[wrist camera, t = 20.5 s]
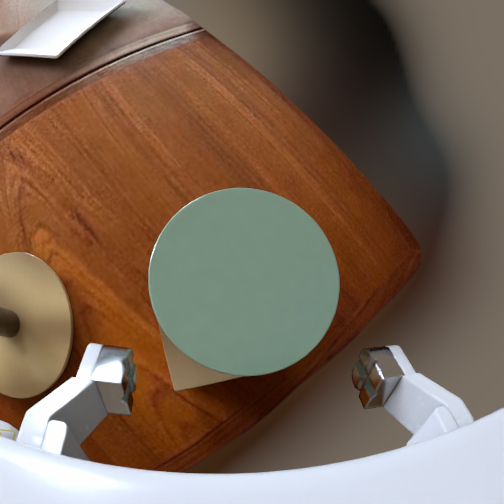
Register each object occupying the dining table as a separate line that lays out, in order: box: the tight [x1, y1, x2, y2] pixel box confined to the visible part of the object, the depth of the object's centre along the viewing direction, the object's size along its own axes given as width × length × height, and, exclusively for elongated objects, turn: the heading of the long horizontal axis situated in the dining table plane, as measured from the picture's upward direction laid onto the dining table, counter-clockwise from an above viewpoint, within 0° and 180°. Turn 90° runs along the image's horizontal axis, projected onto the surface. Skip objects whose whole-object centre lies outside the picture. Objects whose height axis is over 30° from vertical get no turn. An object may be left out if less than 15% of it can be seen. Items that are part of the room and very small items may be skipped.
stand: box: [148, 269, 243, 391], centre depth 23 cm, size 8×8×8 cm
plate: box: [0, 0, 126, 59], centre depth 35 cm, size 19×19×2 cm
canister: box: [148, 188, 339, 376], centre depth 14 cm, size 6×6×11 cm
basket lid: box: [0, 252, 74, 398], centre depth 21 cm, size 14×14×6 cm
